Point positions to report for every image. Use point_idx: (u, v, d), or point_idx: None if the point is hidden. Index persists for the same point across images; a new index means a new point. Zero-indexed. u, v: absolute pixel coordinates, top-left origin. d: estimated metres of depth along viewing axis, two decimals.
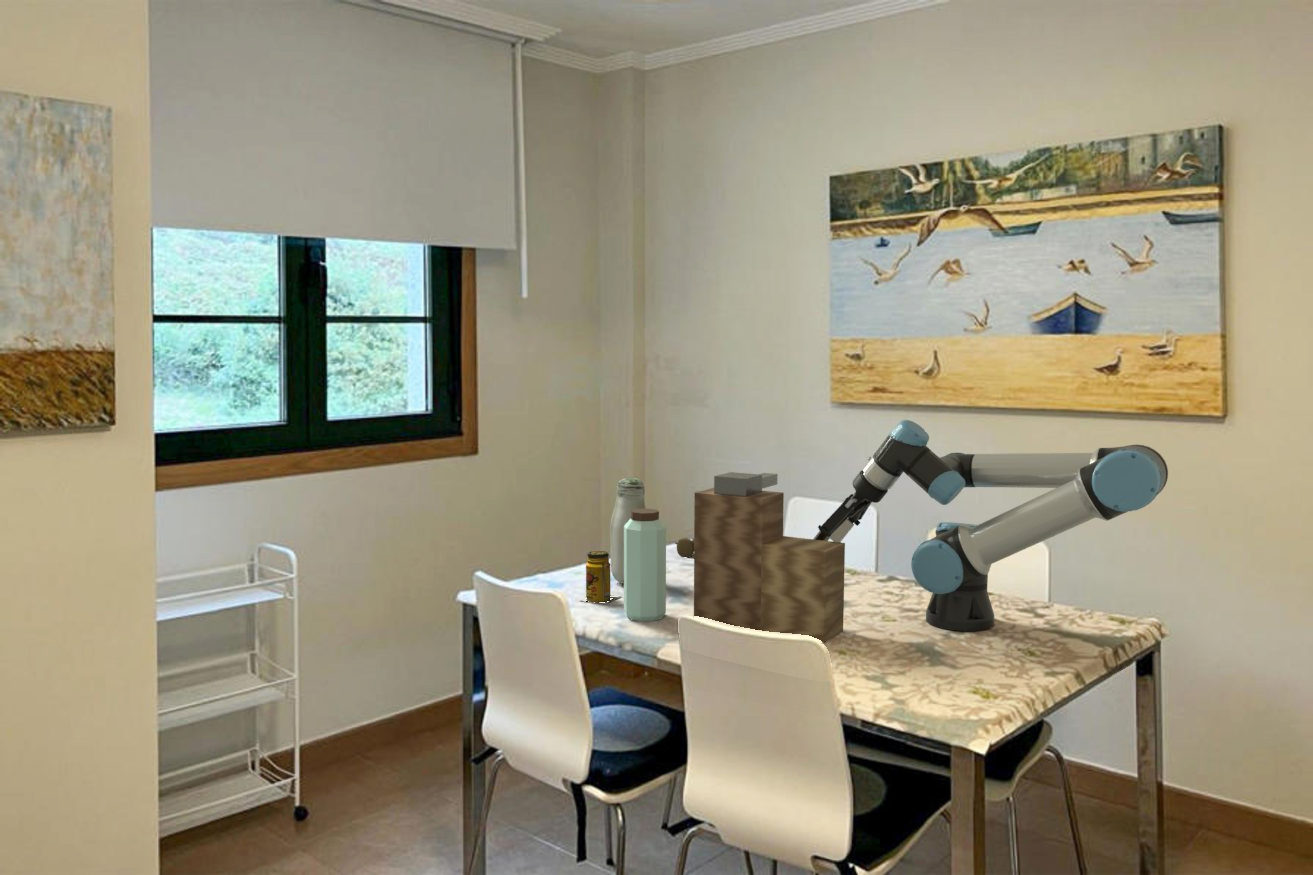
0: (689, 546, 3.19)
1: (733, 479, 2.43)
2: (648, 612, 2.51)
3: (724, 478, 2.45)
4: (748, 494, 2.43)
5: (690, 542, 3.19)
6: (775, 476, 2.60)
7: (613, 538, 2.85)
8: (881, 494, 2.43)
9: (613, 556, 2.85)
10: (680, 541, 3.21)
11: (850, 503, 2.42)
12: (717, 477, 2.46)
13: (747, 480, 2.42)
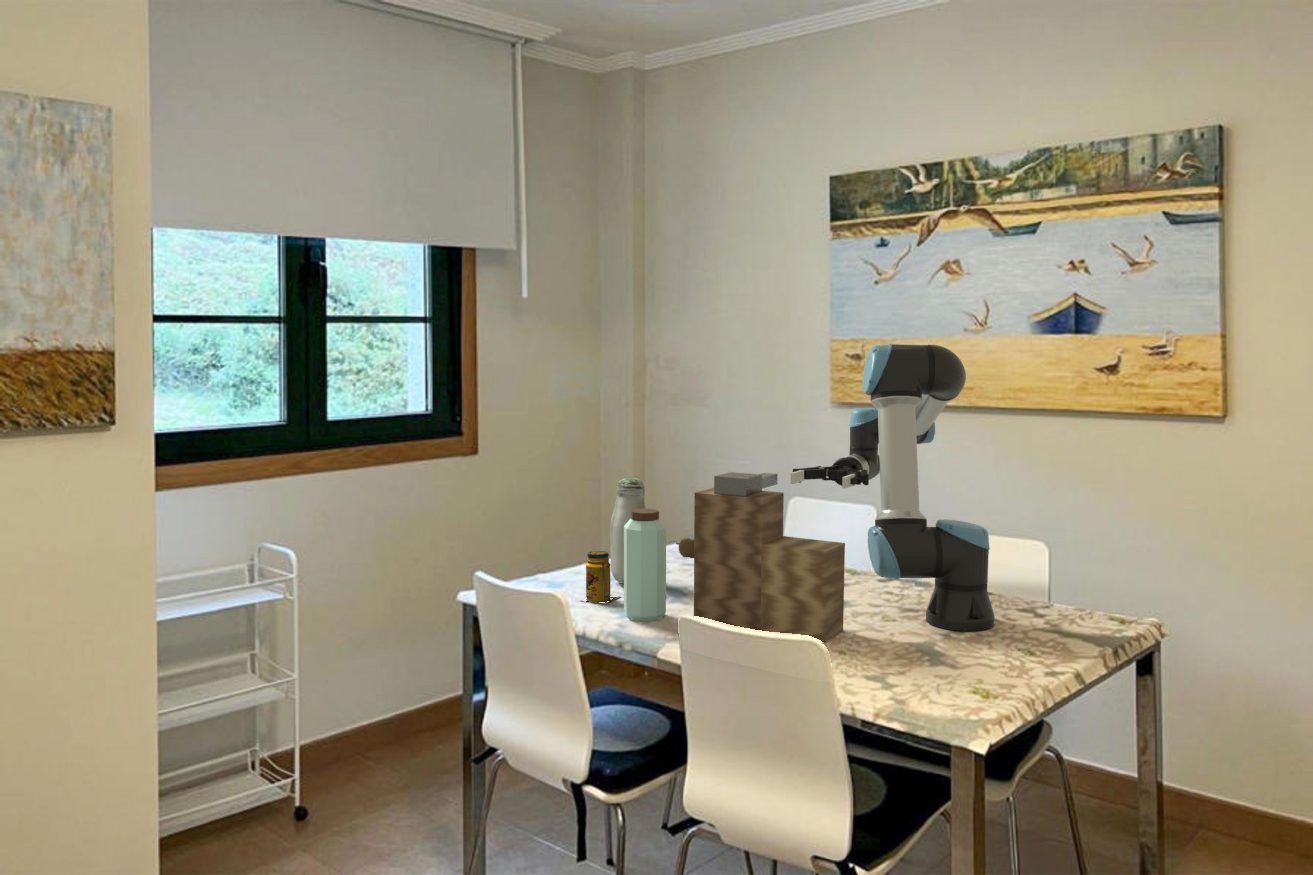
0: (691, 546, 3.19)
1: (733, 479, 2.43)
2: (648, 612, 2.51)
3: (724, 478, 2.45)
4: (748, 494, 2.43)
5: (693, 542, 3.19)
6: (775, 476, 2.60)
7: (613, 538, 2.85)
8: None
9: (613, 556, 2.85)
10: (682, 541, 3.21)
11: None
12: (717, 477, 2.46)
13: (747, 480, 2.42)
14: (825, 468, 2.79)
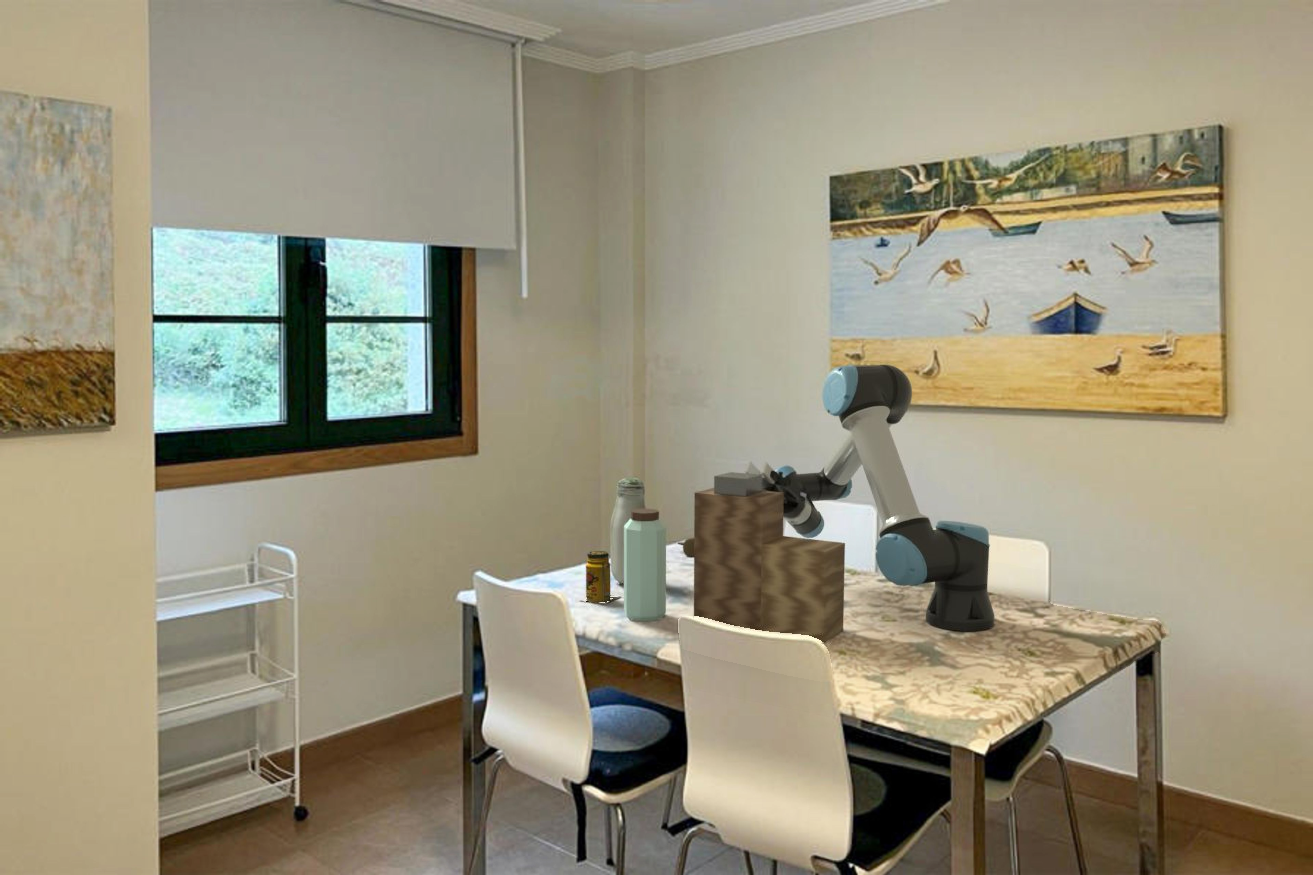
0: None
1: (733, 479, 2.43)
2: (648, 612, 2.51)
3: (724, 478, 2.45)
4: (748, 494, 2.43)
5: None
6: None
7: (613, 538, 2.85)
8: None
9: (613, 556, 2.85)
10: (687, 541, 3.21)
11: None
12: (717, 477, 2.46)
13: (747, 480, 2.42)
14: None
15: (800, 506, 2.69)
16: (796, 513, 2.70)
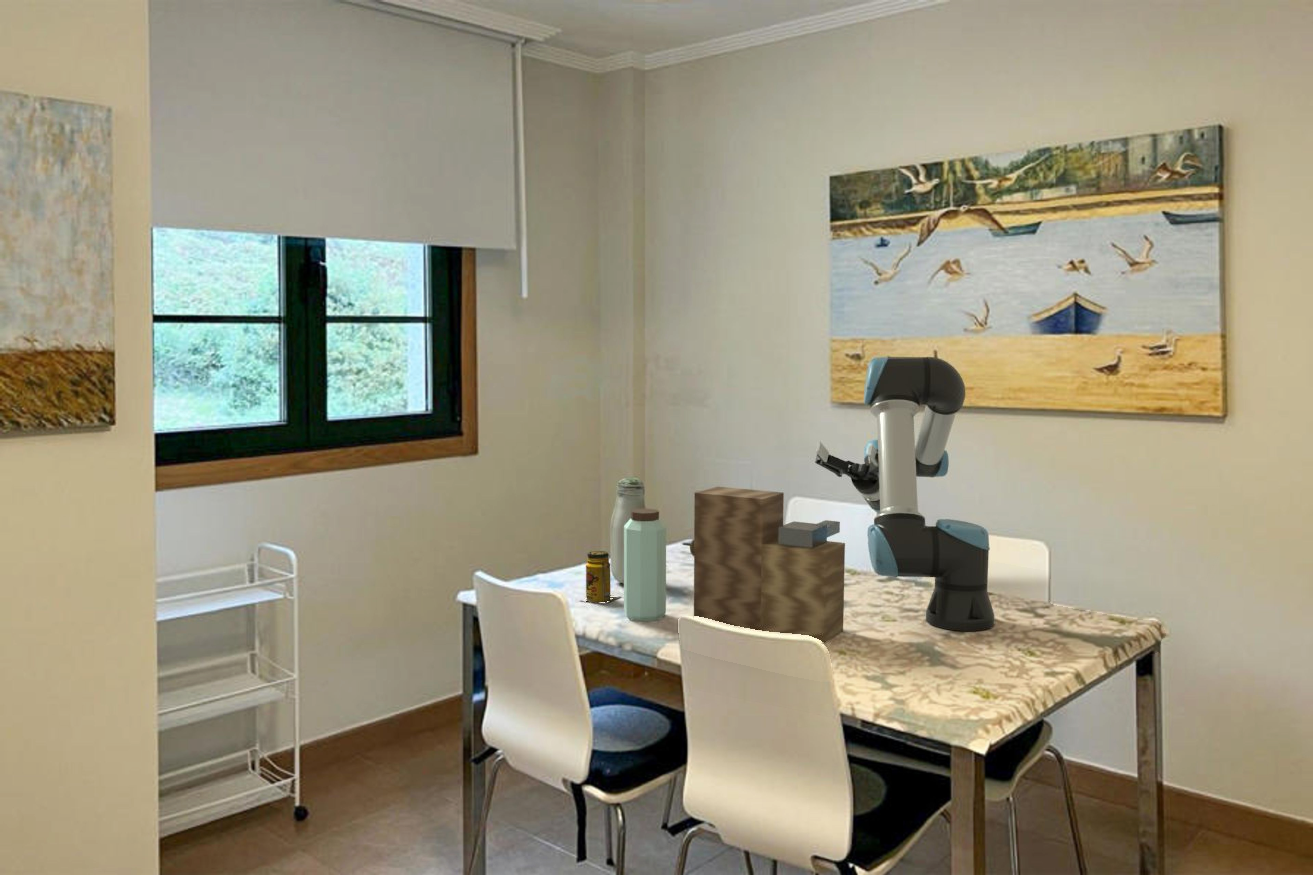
0: None
1: (799, 530, 2.36)
2: (648, 612, 2.51)
3: (789, 529, 2.37)
4: (814, 546, 2.36)
5: None
6: (838, 524, 2.53)
7: (613, 538, 2.85)
8: None
9: (613, 556, 2.85)
10: None
11: None
12: (782, 528, 2.38)
13: (813, 532, 2.35)
14: (848, 461, 2.81)
15: (879, 483, 2.83)
16: (875, 489, 2.83)
